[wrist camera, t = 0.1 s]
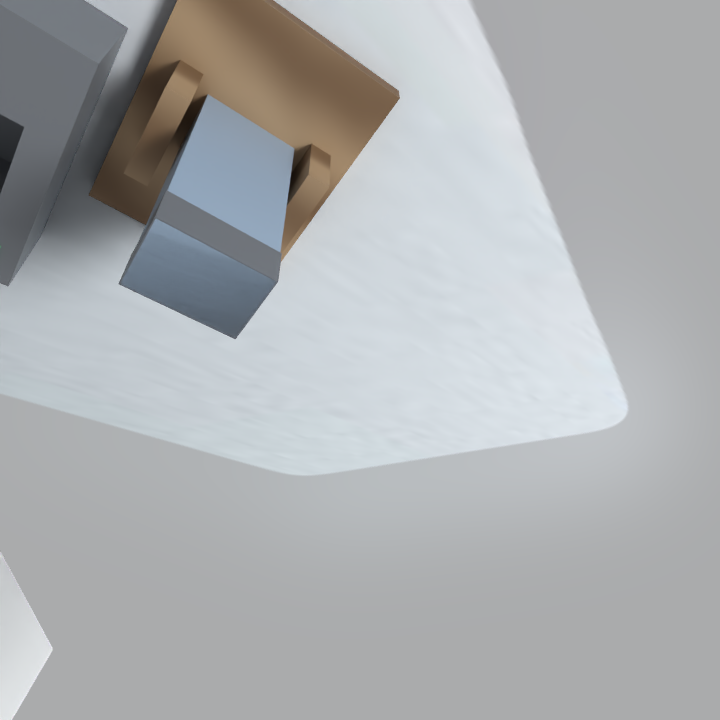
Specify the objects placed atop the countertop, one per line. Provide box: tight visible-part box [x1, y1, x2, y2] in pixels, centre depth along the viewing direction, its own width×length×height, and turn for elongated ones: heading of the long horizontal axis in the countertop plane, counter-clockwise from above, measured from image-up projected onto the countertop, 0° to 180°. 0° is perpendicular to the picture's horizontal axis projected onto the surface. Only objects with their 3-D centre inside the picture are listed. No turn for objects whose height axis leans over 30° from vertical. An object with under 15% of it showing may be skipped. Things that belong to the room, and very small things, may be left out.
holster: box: [89, 0, 400, 261], centre depth 33 cm, size 14×11×4 cm
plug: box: [119, 95, 294, 339], centre depth 30 cm, size 4×5×12 cm
